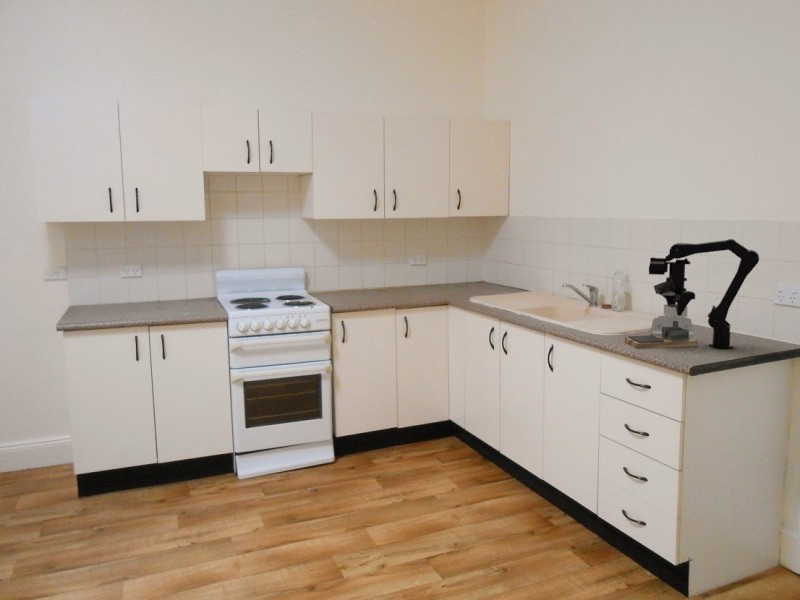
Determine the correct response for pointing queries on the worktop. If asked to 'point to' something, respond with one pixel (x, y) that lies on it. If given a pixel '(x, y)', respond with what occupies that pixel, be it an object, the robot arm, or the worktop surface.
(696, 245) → the robot arm
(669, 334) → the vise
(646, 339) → the mat
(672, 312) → the collar
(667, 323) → the grey arched bracket
